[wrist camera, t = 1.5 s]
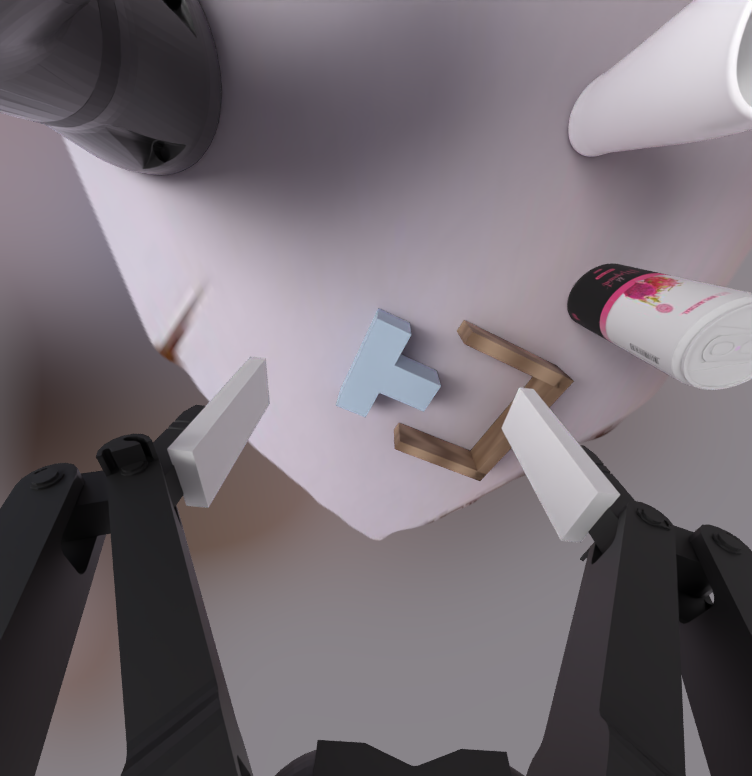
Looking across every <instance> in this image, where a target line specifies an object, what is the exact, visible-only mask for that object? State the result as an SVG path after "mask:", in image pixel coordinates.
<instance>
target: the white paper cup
mask: <svg viewBox="0 0 752 776" xmlns="http://www.w3.org/2000/svg"><path fill="white" fill-rule="evenodd" d="M748 130H752V0H693V1H692V2H691V3H689V4H688V5H687V6H686V7H685V8H683V9H682V10H681V11H680V12H679V13H677V14H676V15H675V16H674V17H673V18H671V19H670V20H669V21H668V22H667V23H665V24H664V25H663V26H662V27H661V28H659V29H658V30H657V31H656V32H654V33H653V34H652V35H651V36H650V37H648V38H647V39H646V40H645V41H644V42H642V43H641V44H640V45H639V46H637V47H636V48H635V49H634V50H633V51H631V52H630V53H629V54H628V55H626V56H625V57H624V58H623V59H622V60H620V61H619V62H618V63H617V64H615V65H614V66H613V67H612V68H610V69H609V70H608V71H606V72H604V73H603V74H601V75H600V76H598V77H597V78H596V79H594V80H593V81H592V82H591V83H590V84H589V85H588V86H587V87H586V88H585V89H584V90H583V92H582V93H581V94H580V96H579V97H578V99H577V101H576V103H575V105H574V107H573V109H572V112H571V115H570V119H569V125H568V134H569V140H570V143H571V145H572V146H573V148H574V149H575V150H576V151H577V152H578V153H579V154H581V155H584V156H590V157H593V156H600V155H603V154H607V153H612V152H620V151H627V150H635V149H644V148H652V147H661V146H669V145H678V144H686V143H693V142H699V141H705V140H710V139H715V138H720V137H724V136H729V135H733V134H737V133H741V132H745V131H748Z"/></svg>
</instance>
